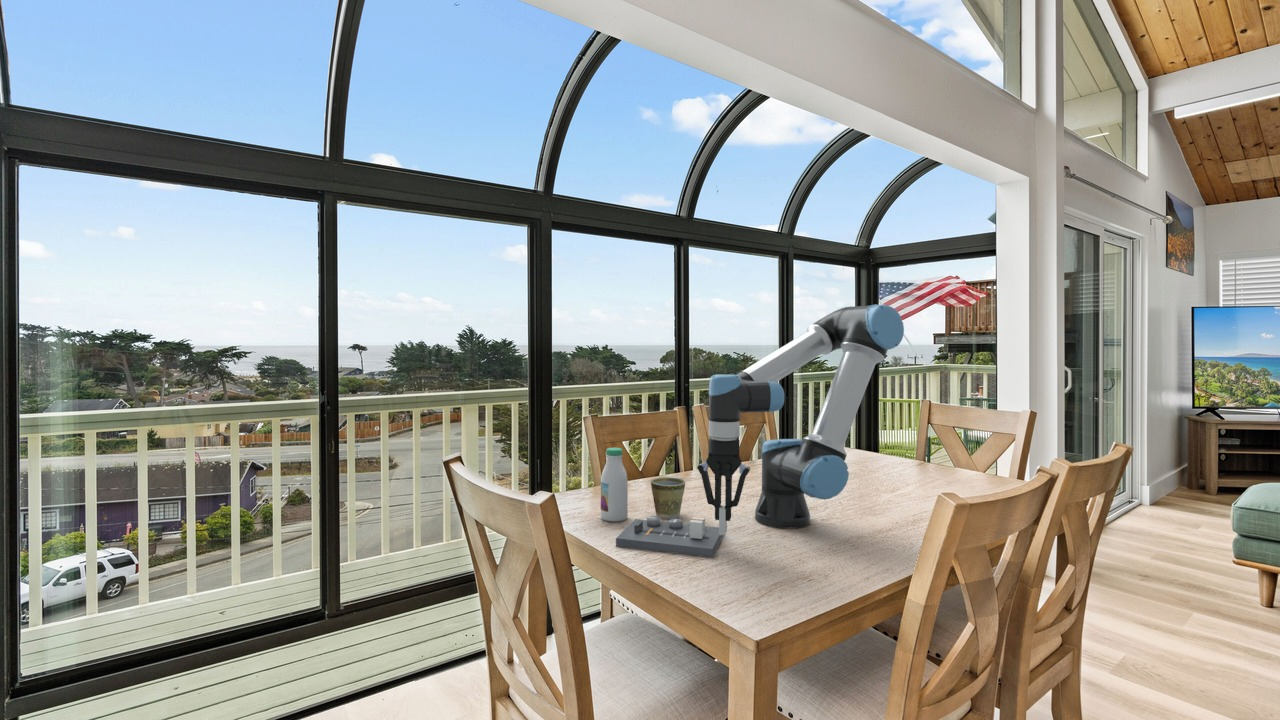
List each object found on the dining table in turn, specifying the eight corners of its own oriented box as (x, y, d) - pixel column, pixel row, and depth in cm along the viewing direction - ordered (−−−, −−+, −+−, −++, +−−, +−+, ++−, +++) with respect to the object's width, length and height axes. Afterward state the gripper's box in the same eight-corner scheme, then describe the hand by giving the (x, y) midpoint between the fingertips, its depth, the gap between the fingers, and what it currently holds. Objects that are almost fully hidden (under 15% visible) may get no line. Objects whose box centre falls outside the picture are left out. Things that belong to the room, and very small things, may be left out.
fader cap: (704, 533, 146) (705, 517, 146) (701, 539, 143) (702, 522, 142) (692, 532, 147) (693, 516, 147) (689, 537, 143) (689, 521, 143)
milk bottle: (629, 514, 170) (629, 446, 169) (625, 522, 162) (626, 451, 161) (602, 513, 171) (603, 445, 170) (598, 521, 163) (598, 450, 162)
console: (722, 535, 152) (723, 520, 152) (712, 557, 137) (712, 540, 137) (635, 526, 159) (635, 511, 159) (615, 546, 144) (616, 530, 144)
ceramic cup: (679, 522, 163) (679, 486, 163) (645, 518, 166) (646, 483, 166) (691, 509, 175) (691, 476, 175) (660, 506, 179) (660, 473, 178)
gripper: (752, 436, 144) (751, 531, 145) (700, 433, 148) (699, 525, 148) (749, 441, 137) (747, 541, 137) (694, 438, 140) (693, 535, 141)
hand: (722, 533), depth 143 cm, fingers closed
